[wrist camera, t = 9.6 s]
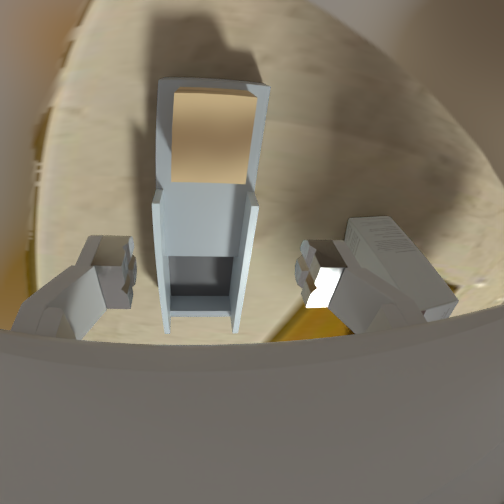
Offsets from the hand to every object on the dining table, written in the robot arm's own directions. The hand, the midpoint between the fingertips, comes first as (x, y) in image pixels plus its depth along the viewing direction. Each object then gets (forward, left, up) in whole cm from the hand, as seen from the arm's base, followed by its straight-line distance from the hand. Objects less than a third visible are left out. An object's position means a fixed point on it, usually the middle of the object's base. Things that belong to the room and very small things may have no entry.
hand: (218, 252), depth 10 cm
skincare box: (-12, -19, -17) cm, 28 cm away
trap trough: (-8, 0, -17) cm, 19 cm away
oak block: (+1, 0, -14) cm, 14 cm away
